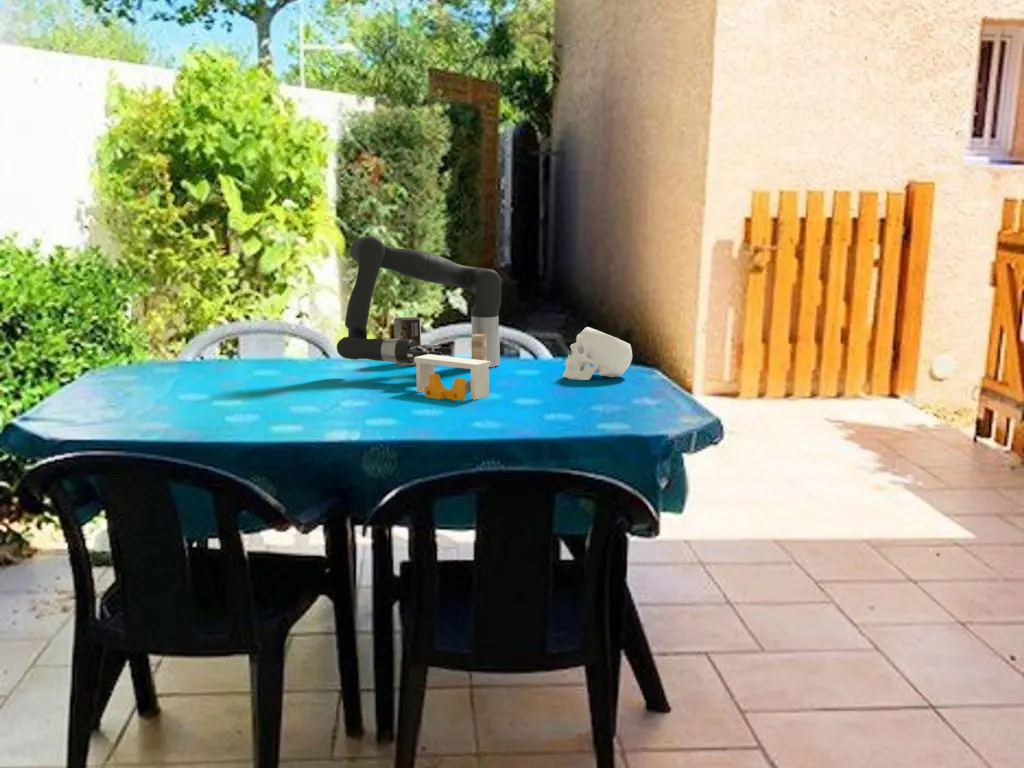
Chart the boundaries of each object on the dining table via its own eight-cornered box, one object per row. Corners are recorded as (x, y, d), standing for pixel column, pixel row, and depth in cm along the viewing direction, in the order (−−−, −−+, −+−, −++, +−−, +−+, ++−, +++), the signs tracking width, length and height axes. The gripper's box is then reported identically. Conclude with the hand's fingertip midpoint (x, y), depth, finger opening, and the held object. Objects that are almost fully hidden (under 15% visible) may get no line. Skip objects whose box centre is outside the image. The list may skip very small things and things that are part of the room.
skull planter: (552, 368, 334) (580, 317, 332) (605, 395, 338) (632, 344, 336) (559, 376, 320) (588, 323, 318) (614, 404, 325) (643, 351, 322)
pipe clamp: (424, 397, 300) (424, 375, 298) (435, 395, 303) (434, 373, 302) (455, 402, 292) (454, 380, 291) (465, 400, 295) (464, 378, 294)
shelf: (429, 387, 312) (428, 354, 310) (491, 396, 300) (490, 361, 298) (414, 391, 306) (414, 357, 304) (477, 400, 294) (477, 364, 292)
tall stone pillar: (475, 384, 317) (475, 333, 314) (486, 385, 316) (486, 334, 313) (450, 397, 298) (450, 343, 295) (461, 398, 297) (461, 344, 294)
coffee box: (422, 362, 356) (421, 316, 353) (421, 365, 350) (420, 319, 347) (396, 362, 356) (395, 316, 353) (394, 366, 350) (393, 319, 347)
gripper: (388, 342, 314) (437, 344, 309) (407, 335, 327) (454, 338, 322) (389, 366, 315) (438, 369, 310) (408, 358, 328) (455, 361, 323)
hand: (446, 353), depth 316 cm, fingers open, 8 cm apart
